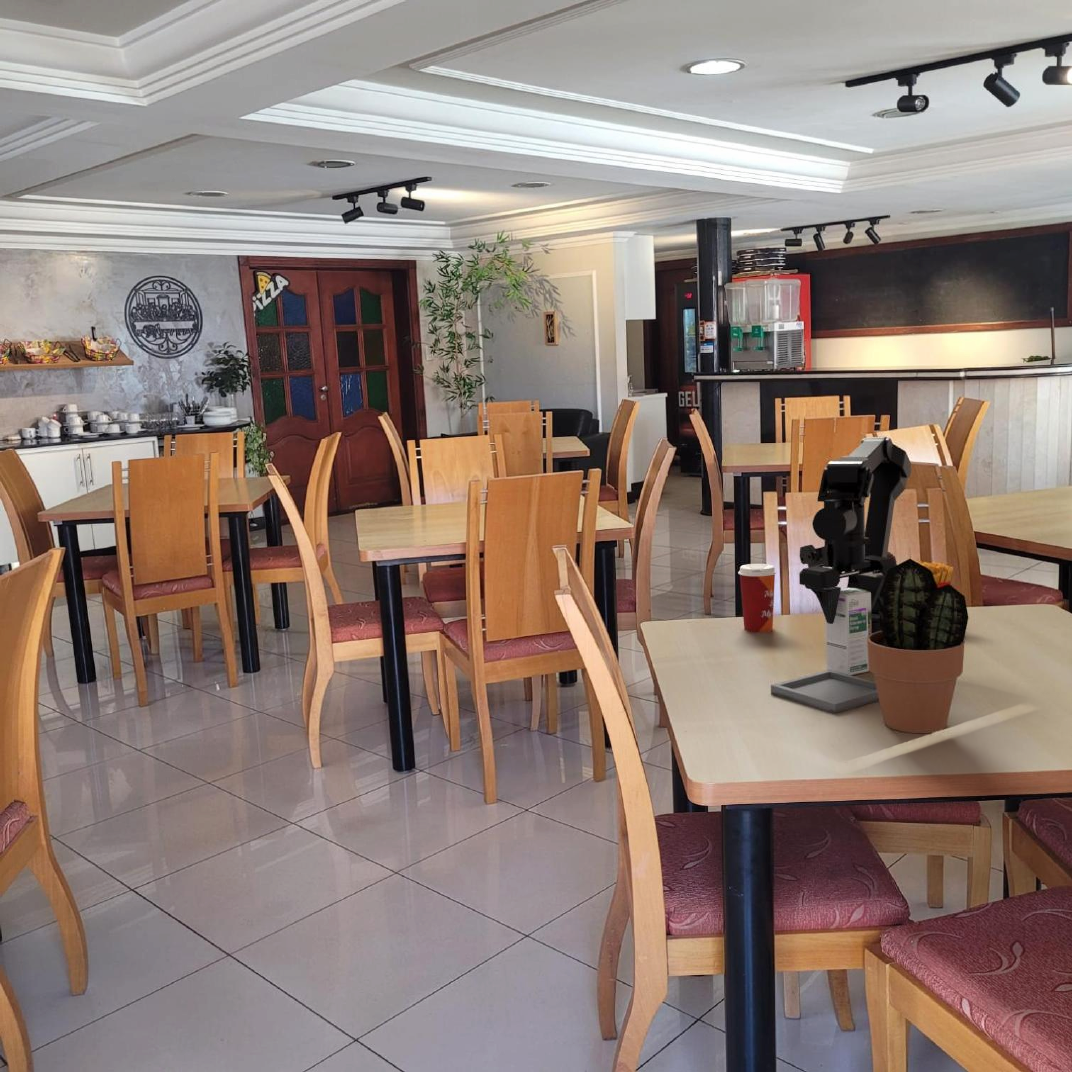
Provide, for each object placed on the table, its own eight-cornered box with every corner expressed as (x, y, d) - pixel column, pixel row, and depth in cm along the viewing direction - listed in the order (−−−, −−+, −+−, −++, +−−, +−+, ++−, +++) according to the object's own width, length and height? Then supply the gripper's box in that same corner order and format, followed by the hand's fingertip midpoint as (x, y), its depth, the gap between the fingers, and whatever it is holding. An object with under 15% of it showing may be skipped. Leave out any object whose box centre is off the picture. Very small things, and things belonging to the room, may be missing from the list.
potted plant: (880, 740, 152) (880, 570, 149) (857, 711, 166) (856, 554, 162) (977, 737, 152) (979, 566, 148) (945, 708, 165) (947, 550, 162)
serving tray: (829, 677, 184) (829, 669, 184) (894, 695, 173) (894, 686, 172) (770, 693, 177) (770, 684, 177) (835, 713, 165) (835, 704, 165)
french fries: (899, 622, 219) (904, 561, 216) (905, 618, 222) (910, 557, 220) (945, 630, 214) (951, 567, 211) (950, 625, 217) (956, 563, 215)
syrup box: (848, 677, 185) (848, 595, 182) (824, 669, 190) (824, 590, 188) (872, 671, 187) (872, 591, 185) (848, 664, 192) (848, 586, 190)
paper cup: (777, 637, 214) (776, 569, 212) (739, 637, 216) (737, 570, 214) (777, 628, 222) (776, 562, 220) (739, 628, 223) (738, 563, 221)
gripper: (848, 522, 197) (849, 604, 199) (775, 534, 187) (777, 620, 189) (897, 527, 187) (897, 613, 189) (823, 540, 177) (824, 631, 180)
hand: (848, 619), depth 187 cm, fingers open, 9 cm apart
